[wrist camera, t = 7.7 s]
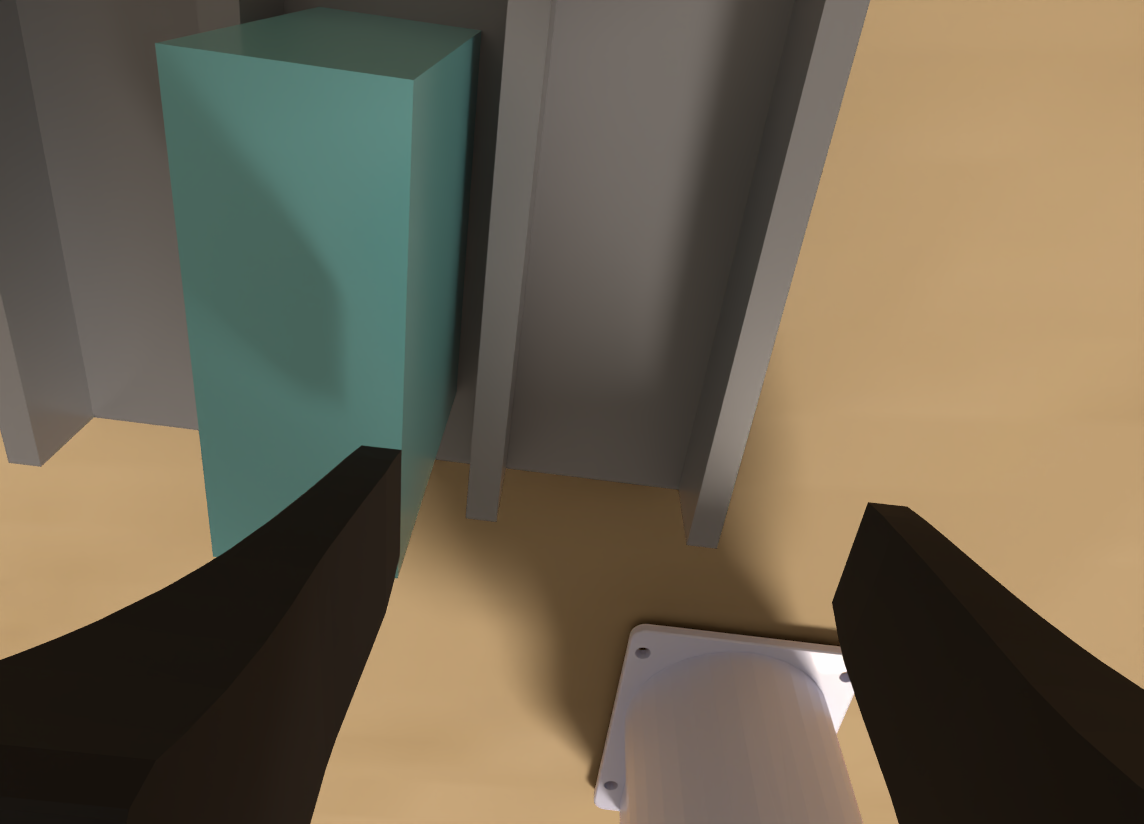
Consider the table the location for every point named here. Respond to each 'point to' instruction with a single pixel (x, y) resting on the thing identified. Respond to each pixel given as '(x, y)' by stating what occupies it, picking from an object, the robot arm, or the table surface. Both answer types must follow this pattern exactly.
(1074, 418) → the table surface
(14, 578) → the table surface
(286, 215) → the tall teal block
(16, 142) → the rack
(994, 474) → the table surface
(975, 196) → the table surface
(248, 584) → the robot arm
